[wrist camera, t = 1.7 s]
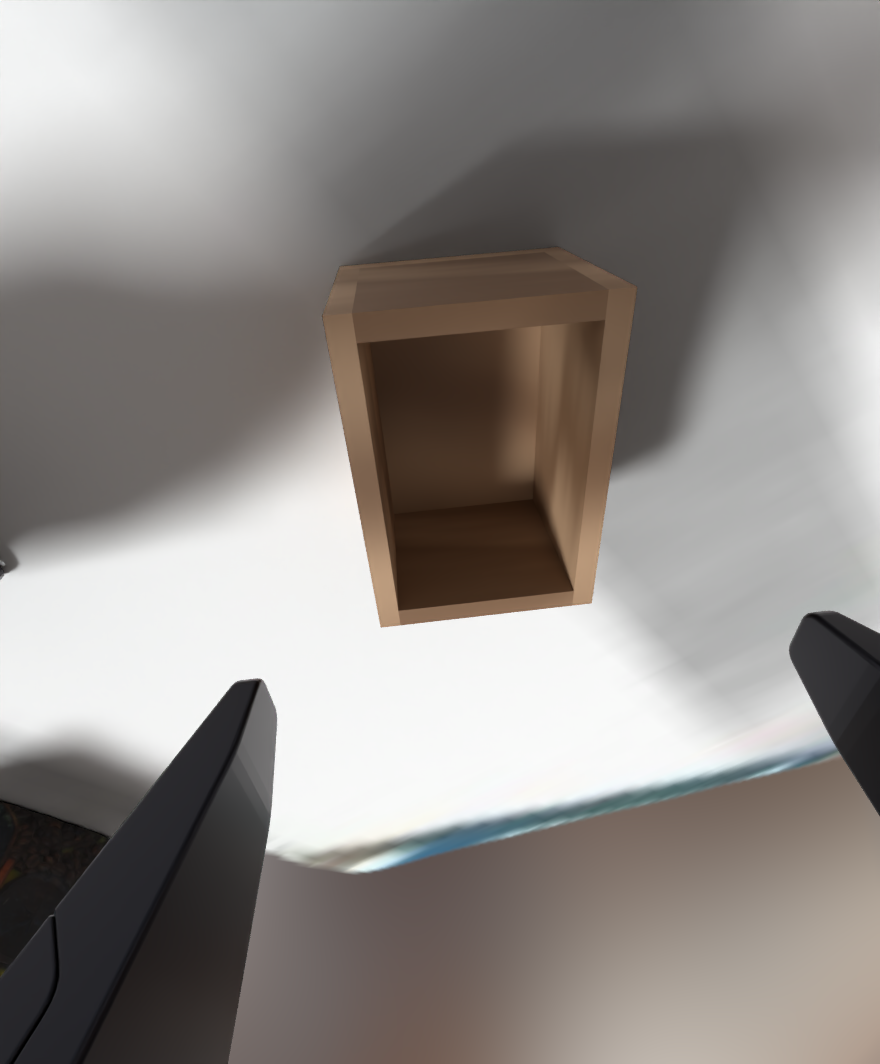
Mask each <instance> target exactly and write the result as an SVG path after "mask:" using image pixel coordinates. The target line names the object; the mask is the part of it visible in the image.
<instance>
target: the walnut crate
mask: <svg viewBox="0 0 880 1064" xmlns="http://www.w3.org/2000/svg"><path fill="white" fill-rule="evenodd" d="M636 293H637V286H635V285H633V284H631V283H629V282H627V281H625V280H623V279H621V278H619V277H617V276H615V275H613V274H611V273H609V272H607V271H605V270H603V269H601V268H599V267H597V266H595V265H593V264H591V263H589V262H587V261H585V260H583V259H581V258H579V257H577V256H576V255H574V254H572V253H570V252H568V251H566V250H564V249H562V248H560V247H552V248H541V249H530V250H518V251H507V252H496V253H485V254H473V255H462V256H451V257H440V258H428V259H417V260H406V261H394V262H383V263H372V264H361V265H349V266H340V267H339V270H338V273H337V276H336V278H335V281H334V284H333V287H332V290H331V292H330V295H329V298H328V301H327V304H326V306H325V309H324V312H323V315H322V318H323V323H324V329H325V334H326V339H327V345H328V350H329V355H330V360H331V366H332V371H333V376H334V382H335V387H336V392H337V398H338V403H339V408H340V414H341V419H342V424H343V429H344V435H345V440H346V445H347V451H348V456H349V461H350V467H351V472H352V477H353V482H354V488H355V493H356V498H357V504H358V509H359V514H360V520H361V525H362V530H363V536H364V541H365V546H366V551H367V557H368V562H369V567H370V573H371V578H372V583H373V589H374V594H375V599H376V604H377V610H378V615H379V620H380V626H381V627H389V626H398V625H407V624H415V623H424V622H433V621H441V620H450V619H459V618H467V617H476V616H485V615H493V614H502V613H511V612H519V611H528V610H537V609H546V608H554V607H563V606H572V605H580V604H589V603H592V596H593V589H594V582H595V575H596V569H597V562H598V555H599V548H600V541H601V534H602V527H603V520H604V513H605V507H606V500H607V493H608V486H609V479H610V472H611V465H612V458H613V452H614V445H615V438H616V431H617V424H618V417H619V410H620V403H621V396H622V390H623V383H624V376H625V369H626V362H627V355H628V348H629V341H630V334H631V328H632V321H633V314H634V307H635V300H636Z"/></svg>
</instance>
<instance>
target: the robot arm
mask: <svg viewBox="0 0 880 1064" xmlns="http://www.w3.org/2000/svg"><path fill="white" fill-rule="evenodd" d="M3 576H4V571H3V569H2V568H1V566H0V580H1V579H2V577H3ZM789 654H790V658H791V660H792V663H793V665H794V667H795V669H796V671H797V672H798V674H799V676H800V678H801V680H802V682H803V684H804V686H805V688H806V690H807V692H808V694H809V696H810V698H811V700H812V702H813V704H814V706H815V708H816V710H817V712H818V714H819V716H820V718H821V720H822V722H823V724H824V726H825V728H826V730H827V731H828V733H829V735H830V737H831V739H832V741H833V742H834V744H835V746H836V748H837V749H838V751H839V753H840V754H841V756H842V758H843V759H844V761H845V762H846V764H847V765H848V767H849V769H850V770H851V772H852V773H853V775H854V776H855V778H856V780H857V781H858V783H859V784H860V786H861V788H862V789H863V791H864V792H865V794H866V795H867V797H868V798H869V800H870V802H871V803H872V805H873V806H874V808H875V810H876V811H877V813H878V814H879V816H880V633H878V632H876V631H874V630H872V629H870V628H868V627H866V626H864V625H862V624H860V623H858V622H856V621H854V620H852V619H850V618H848V617H846V616H844V615H842V614H840V613H838V612H835V611H821V612H813V613H808V614H807V615H805V616H804V617H803V619H802V620H801V623H800V625H799V627H798V629H797V631H796V633H795V635H794V637H793V639H792V641H791V643H790V647H789ZM276 731H277V713H276V709H275V706H274V704H273V701H272V699H271V696H270V694H269V692H268V689H267V687H266V684H265V683H264V681H263V680H262V679H258V678H256V679H248V680H240V681H237V682H235V683H234V684H233V685H232V686H231V687H230V689H229V690H228V691H227V692H226V694H225V695H224V696H223V697H222V699H221V700H220V701H219V702H218V704H217V705H216V706H215V708H214V709H213V710H212V711H211V713H210V714H209V715H208V716H207V718H206V719H205V720H204V721H203V723H202V724H201V725H200V726H199V728H198V729H197V730H196V732H195V733H194V734H193V735H192V737H191V738H190V739H189V740H188V742H187V743H186V744H185V745H184V747H183V748H182V749H181V750H180V752H179V753H178V754H177V756H176V757H175V758H174V759H173V761H172V762H171V763H170V764H169V766H168V767H167V768H166V769H165V771H164V772H163V773H162V774H161V776H160V777H159V778H158V779H157V781H156V782H155V783H154V785H153V786H152V787H151V788H150V790H149V791H148V792H147V793H146V795H145V796H144V797H143V798H142V800H141V801H140V802H139V803H138V805H137V806H136V807H135V809H134V810H133V811H132V812H131V814H130V815H129V816H128V817H127V819H126V820H125V821H124V822H123V824H122V825H121V826H120V827H119V829H118V830H117V831H116V833H115V834H114V835H113V836H112V838H111V839H110V840H109V841H108V843H107V844H106V845H105V846H104V848H103V849H102V850H101V851H100V853H99V854H98V855H97V857H96V858H95V859H94V860H93V862H92V863H91V864H90V865H89V867H88V868H87V869H86V870H85V872H84V873H83V874H82V875H81V877H80V878H79V879H78V880H77V882H76V883H75V884H74V886H73V887H72V888H71V889H70V891H69V892H68V893H67V894H66V896H65V897H64V898H63V899H62V901H61V902H60V903H59V904H58V906H57V907H56V908H55V912H54V914H55V915H51V916H49V917H48V918H47V919H46V921H45V922H44V923H43V924H42V926H41V927H40V928H39V929H38V931H37V932H36V933H35V934H34V936H33V937H32V938H31V939H30V941H29V942H28V943H27V945H26V946H25V947H24V948H23V950H22V951H21V952H20V953H19V954H18V956H17V957H16V958H15V959H14V961H13V962H12V963H11V964H10V965H9V967H8V968H7V969H6V970H5V971H4V973H3V974H2V975H1V976H0V1064H228V1060H229V1054H230V1049H231V1043H232V1037H233V1032H234V1026H235V1020H236V1014H237V1008H238V1003H239V997H240V992H241V986H242V980H243V974H244V969H245V963H246V957H247V951H248V946H249V940H250V934H251V929H252V922H253V917H254V911H255V906H256V899H257V894H258V889H259V883H260V877H261V872H262V866H263V860H264V855H265V849H266V843H267V837H268V831H269V825H270V818H271V807H272V793H273V778H274V762H275V747H276Z"/></svg>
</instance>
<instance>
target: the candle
mask: <svg viewBox="0 0 880 1064" xmlns="http://www.w3.org/2000/svg"><path fill="white" fill-rule="evenodd" d="M109 840H110V839H108V838H106V837H104V836H102V835H100V834H98V833H96V832H93V831H90V830H87V829H84V828H80V827H77V826H74V825H70V824H67V823H64V822H62V821H59V820H57V819H55V818H52V817H49V816H46V815H43V814H39V813H35V812H32V811H29V810H26V809H23V808H21V807H18V806H15V805H12V804H8V803H4V802H0V976H1V975H2V974H3V973H4V971H5V970H6V969H7V968H8V967H9V965H10V964H11V963H12V962H13V961H14V959H15V958H16V957H17V956H18V954H19V953H20V952H21V951H22V950H23V948H24V947H25V946H26V945H27V943H28V942H29V941H30V939H31V938H32V937H33V936H34V934H35V933H36V932H37V931H38V929H39V928H40V927H41V926H42V924H43V923H44V922H45V921H46V919H47V918H48V917H49V916H51V915H55V914H54V912H55V908H56V907H57V906H58V904H59V903H60V902H61V901H62V899H63V898H64V897H65V896H66V894H67V893H68V892H69V891H70V889H71V888H72V887H73V886H74V884H75V883H76V882H77V880H78V879H79V878H80V877H81V875H82V874H83V873H84V872H85V870H86V869H87V868H88V867H89V865H90V864H91V863H92V862H93V860H94V859H95V858H96V857H97V855H98V854H99V853H100V851H101V850H102V849H103V848H104V846H105V845H106V844H107V843H108V841H109Z"/></svg>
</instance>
